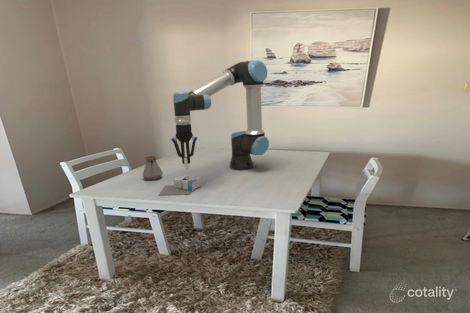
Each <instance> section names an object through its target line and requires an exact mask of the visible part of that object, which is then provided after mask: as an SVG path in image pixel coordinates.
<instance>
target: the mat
mask: <svg viewBox="0 0 470 313" xmlns="http://www.w3.org/2000/svg"><path fill="white" fill-rule="evenodd" d="M192 192H193V190H186V189H180V188H175V187H174V184H172V185H164V186H163V188H162V189H161V190H160V192H159V194H158V196H159V197H160V196H183V195H184V196H187V195H188V196H189V195H190V196H191V194H192Z"/></svg>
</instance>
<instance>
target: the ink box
mask: <svg viewBox="0 0 470 313" xmlns="http://www.w3.org/2000/svg"><path fill="white" fill-rule="evenodd" d="M201 178H202V177H200V176H192V175H185V174H183V175H180V176H178V177H176V178H174V179H173V185H174V187H175V188H180V189H186V190H192V191H194V190H196V189H198V188H200V187H201V186H202V179H201Z"/></svg>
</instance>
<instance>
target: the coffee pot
mask: <svg viewBox="0 0 470 313" xmlns="http://www.w3.org/2000/svg"><path fill="white" fill-rule="evenodd" d="M156 158H157V156H155V155H152V156H151V155H150V156H146V157H144V159H145V161H146V163H145V166H144V169H143V172H142V177H143V178H144V179H146V180H147V181H157V180H159V179H160V178H161V177H162V176H163V173H164V172H163V170H162V169H161V168H160V165H159V164H158V162H157V160H156Z"/></svg>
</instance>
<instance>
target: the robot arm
mask: <svg viewBox="0 0 470 313" xmlns="http://www.w3.org/2000/svg"><path fill="white" fill-rule="evenodd" d="M267 77H268V68H267V66H266V64H264V62H263V61H262V60H259V59H257V60H255V59H254V60H246V61H240V62H237V63H234V65H231V66H230V67H228V68H226V69H225V70H223V72H222V73H221V74H220V75H219V74H218V75H217V76H216V77H214V78H212V79H210V80H208V81H207V82H205V83H203V84H201V85H200V86H198V87H196V88H194V89H193V90H191V91H176V92H173V97H172V100H173V102H172V103H173V108H174V122H175V131H176V132H175V136H174V137H172V138H171V141H172V144H173V146H174V148H175V151H176V154H177V156H178V158H181V162H182V164H183V165H184V171H185V172H186V171H189V169H190V166H189V165H190V164H191V157H193V156H194V152H195V148H196V143H197V142H196V141H197V140H198V137H197V136H194V134H193V132H192V124H191V122H192V120H191V111H205V110H209V109H210V108H211V107H212V99H211V97H212V96H214V94H216V93H218V92H220V91H222V90H224V89H225V88H227V87H229V86H233V85H236V84H238V83H242V86H243V88H245V101H246V102H245V103H246V121H247V122H246V123H247V124H246V126H247V130H243V131H242V130H241V131H233V132H231V134H230V135H231V137H230V144H231V158H230V162H229V168H230V169H232V170H234V171H235V170H237V171H243V170H250V169H252V168H253V167H254V162H253V160H252V156H251V155H253V156H262V155H264V154H265V153H266V152H267V151H268V149H269V145H270V140H269V139H268V137H267V136H266V134H265V133H266V132H265V130H264V129H263V120H262V118H263V117H262V116H263V114H262V89H261V88H262V87H263V86H264V81H265V80H266V79H267ZM190 141H192V143H191V148H190ZM178 142H180V143H179V144H180V147H179V144H178ZM185 152H186V154H185Z"/></svg>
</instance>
